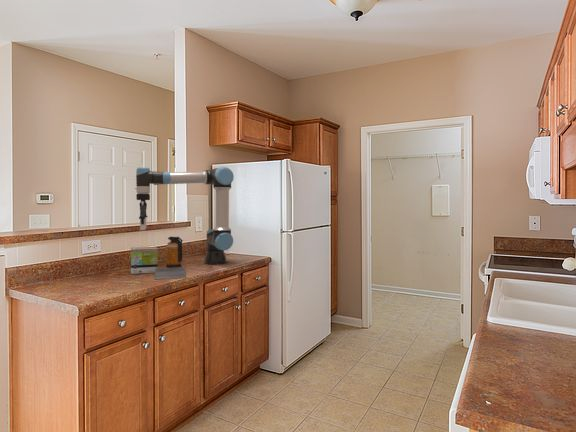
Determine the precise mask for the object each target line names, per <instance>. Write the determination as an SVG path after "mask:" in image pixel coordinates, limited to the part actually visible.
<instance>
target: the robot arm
mask: <svg viewBox="0 0 576 432" xmlns="http://www.w3.org/2000/svg"><path fill="white" fill-rule="evenodd" d="M135 175H136V177H135V178H136V179H135V180H136V181H135V182H136V184H135V186H136V187H135V190H136V193H137V194H136V196H135V198H136V199H135V200H137V201H139V216H138V219H139V225H140V226H139V228H140V229H139V231H145V230H146V229H147V218H148V215H147V206H148V203H147V201H150V199H151V194H150V193H151V185H154V186H159V185H178V184H179V185H182V184H184V185H185V184H186V185H187V184H203V185H213V186H212V187H213V189H214V190H215V226H214V228H212V229H207V231H206V254H205V257H204V259H203V260H204V262H203V263H204V264H206V265H222V264H227V261H228V260H227V256H226V253H225V251H228V250H229V249H230V248H232V247H233V244H234V238H233V236H232V229H231V227H230V225H229V224H230V220H229V219H230V218H229V217H230V213H229V212H230V210H229V209H230V190H231V189H232V182H233V181H234V178H235V177H234V172H233V171H232V170H231V169H230V168H229V167H227V166H220V167H215V168H212V169H204V170H202V171H180V172H178V171H177V172H176V171H174V172H169V171H154V170H153V171H152V170H151V169H150V168H149V167H146V166H145V167H137V168H136V173H135Z"/></svg>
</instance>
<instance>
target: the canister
mask: <svg viewBox="0 0 576 432" xmlns="http://www.w3.org/2000/svg"><path fill="white" fill-rule="evenodd" d="M167 240H169V242H167V244H166V248H165V249H166V251H165V254H166V256H165V257H166V268H174V267H182V261H183V241H184V240H183V239H182V238H180V237H179V236H169V237H168V238H167Z"/></svg>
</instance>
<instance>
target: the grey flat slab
mask: <svg viewBox="0 0 576 432" xmlns="http://www.w3.org/2000/svg"><path fill="white" fill-rule="evenodd" d="M184 278H185V279H187V271H186V268H185V266H180V267H174V268H169V267H158V268H156V273H154V280H166V279H168V280H169V279H170V280H171V279H184Z"/></svg>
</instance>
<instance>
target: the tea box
mask: <svg viewBox="0 0 576 432" xmlns="http://www.w3.org/2000/svg"><path fill="white" fill-rule="evenodd" d="M158 258H159V249H158V247H157V246H142V247H141V246H140V247H130V275H133V274H134V275H135V274H155V273H156V268H159V259H158Z"/></svg>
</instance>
